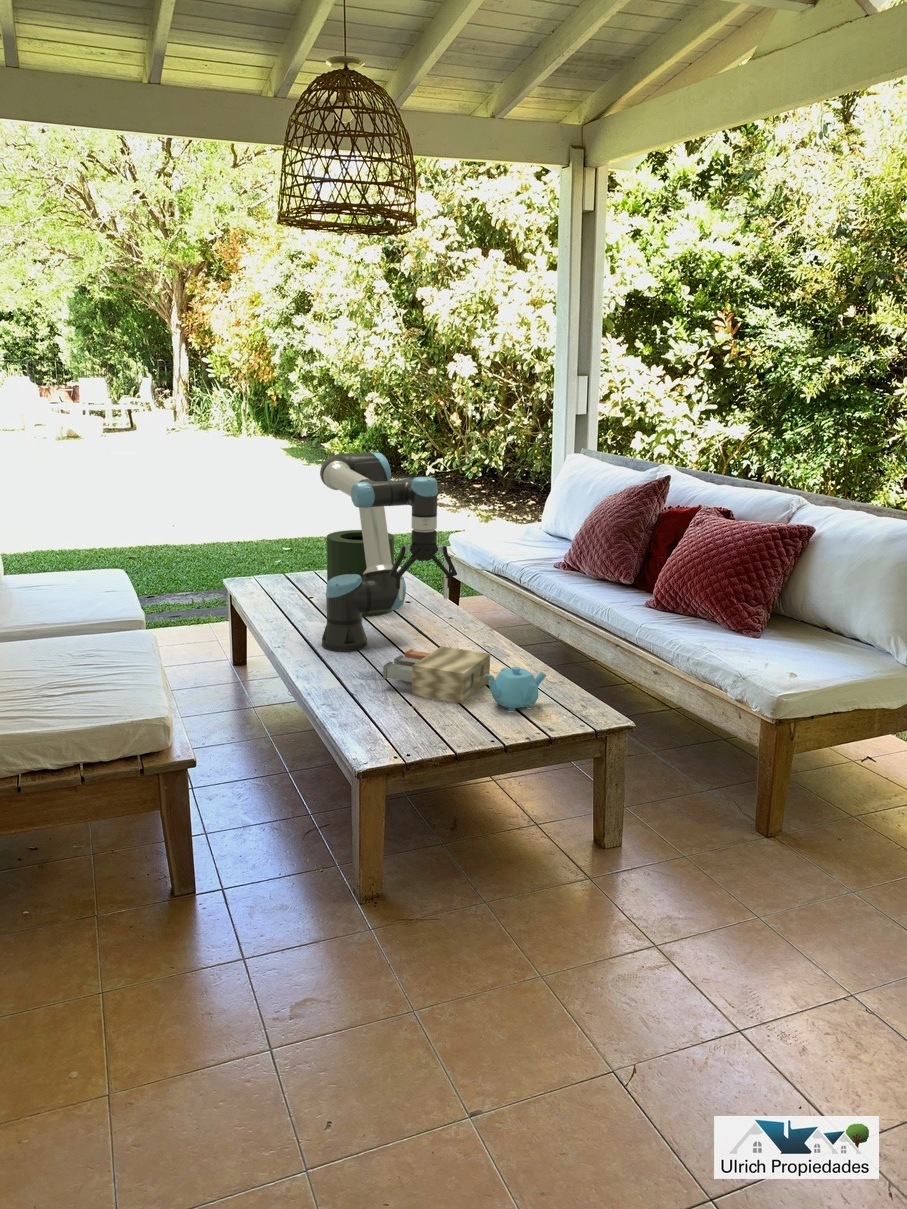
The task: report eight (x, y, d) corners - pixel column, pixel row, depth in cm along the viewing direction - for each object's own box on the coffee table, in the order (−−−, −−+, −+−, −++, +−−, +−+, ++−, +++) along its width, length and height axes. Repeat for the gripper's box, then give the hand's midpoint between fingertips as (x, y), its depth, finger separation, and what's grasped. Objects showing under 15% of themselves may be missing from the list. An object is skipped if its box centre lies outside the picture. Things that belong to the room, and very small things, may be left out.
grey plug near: (383, 678, 281) (383, 665, 280) (389, 674, 284) (389, 661, 283) (435, 687, 274) (436, 674, 273) (441, 683, 278) (441, 670, 277)
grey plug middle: (394, 671, 287) (394, 658, 286) (400, 667, 290) (400, 655, 289) (445, 680, 280) (446, 667, 279) (451, 676, 284) (451, 663, 283)
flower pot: (406, 606, 370) (407, 535, 362) (366, 621, 349) (366, 545, 342) (355, 596, 383) (354, 527, 375) (313, 610, 362) (312, 537, 355)
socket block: (412, 694, 277) (412, 665, 274) (440, 674, 294) (441, 646, 292) (463, 703, 271) (463, 673, 268) (489, 682, 288) (490, 653, 286)
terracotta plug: (404, 664, 293) (404, 652, 292) (410, 661, 297) (410, 648, 295) (455, 673, 286) (455, 660, 285) (460, 669, 290) (461, 656, 289)
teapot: (531, 718, 261) (533, 679, 258) (483, 711, 265) (484, 672, 262) (545, 700, 275) (547, 662, 272) (500, 693, 279) (501, 656, 276)
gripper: (383, 532, 280) (383, 602, 285) (467, 531, 283) (465, 601, 289) (381, 527, 287) (381, 596, 292) (463, 527, 291) (461, 594, 296)
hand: (423, 598), depth 291 cm, fingers open, 13 cm apart
